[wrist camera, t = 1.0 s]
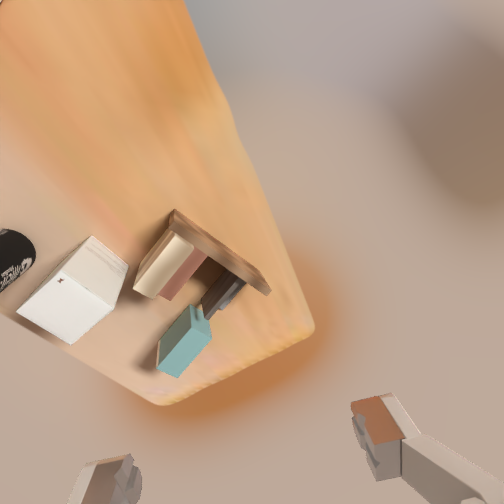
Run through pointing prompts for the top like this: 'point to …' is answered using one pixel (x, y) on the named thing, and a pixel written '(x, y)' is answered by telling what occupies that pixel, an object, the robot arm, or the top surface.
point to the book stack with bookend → (194, 266)
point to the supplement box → (77, 292)
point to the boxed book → (183, 342)
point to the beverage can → (14, 256)
